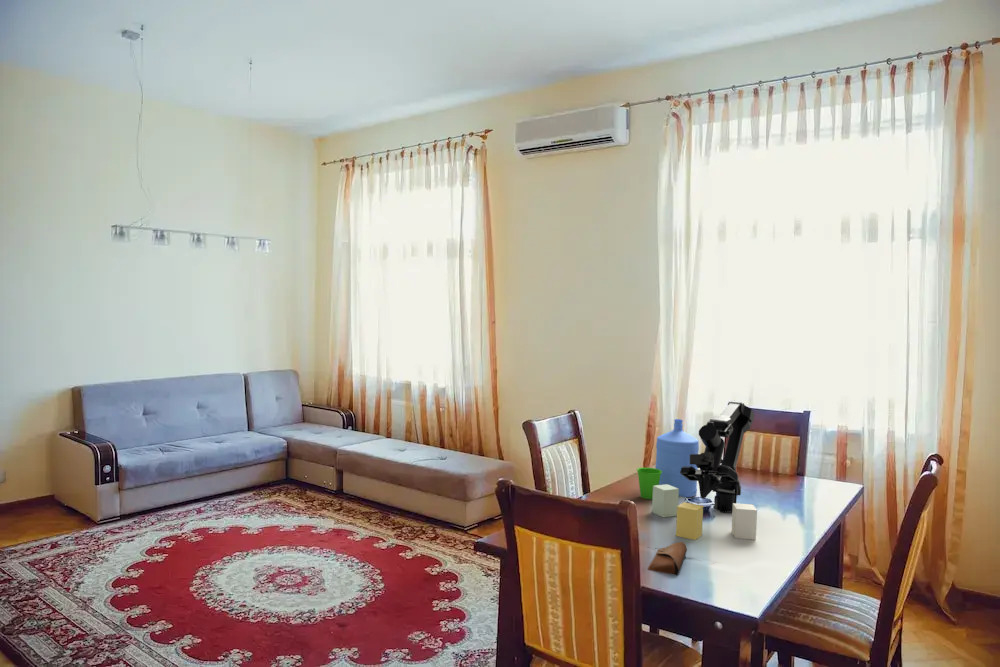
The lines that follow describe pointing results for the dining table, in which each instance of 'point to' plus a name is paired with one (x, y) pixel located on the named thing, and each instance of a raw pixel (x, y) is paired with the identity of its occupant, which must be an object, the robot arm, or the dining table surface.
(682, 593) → the dining table surface
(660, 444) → the water jug
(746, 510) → the cream block
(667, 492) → the sage block
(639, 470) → the cup
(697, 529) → the mustard block
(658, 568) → the sunglasses case
